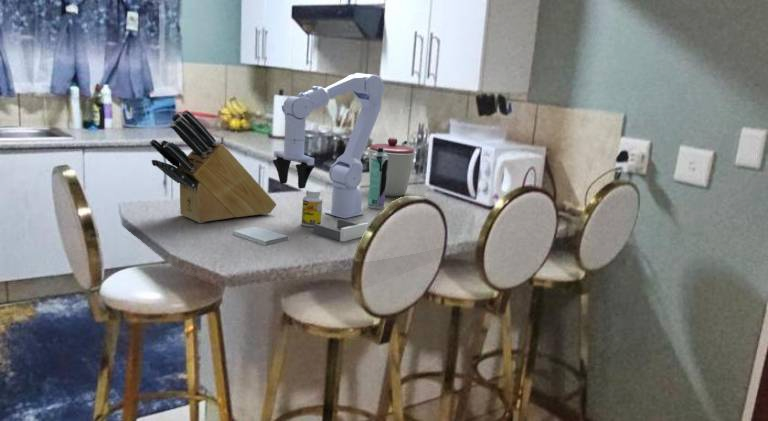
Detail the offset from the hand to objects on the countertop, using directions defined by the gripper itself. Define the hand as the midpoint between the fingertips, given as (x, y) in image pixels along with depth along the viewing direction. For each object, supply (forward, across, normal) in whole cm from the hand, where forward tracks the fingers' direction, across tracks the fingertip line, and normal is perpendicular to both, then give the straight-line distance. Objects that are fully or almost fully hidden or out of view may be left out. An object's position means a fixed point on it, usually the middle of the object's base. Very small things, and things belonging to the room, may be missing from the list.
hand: (292, 185), depth 183 cm
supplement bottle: (+10, +7, +1) cm, 13 cm away
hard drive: (+11, +8, -19) cm, 24 cm away
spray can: (+11, +4, +36) cm, 38 cm away
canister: (+11, -7, +57) cm, 58 cm away
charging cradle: (+10, +18, +1) cm, 21 cm away
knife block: (+10, -15, -16) cm, 24 cm away
